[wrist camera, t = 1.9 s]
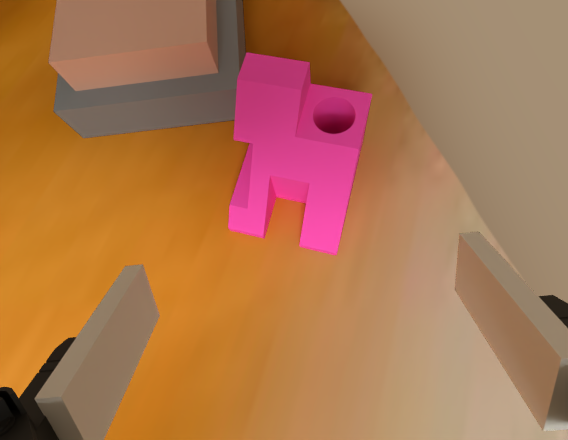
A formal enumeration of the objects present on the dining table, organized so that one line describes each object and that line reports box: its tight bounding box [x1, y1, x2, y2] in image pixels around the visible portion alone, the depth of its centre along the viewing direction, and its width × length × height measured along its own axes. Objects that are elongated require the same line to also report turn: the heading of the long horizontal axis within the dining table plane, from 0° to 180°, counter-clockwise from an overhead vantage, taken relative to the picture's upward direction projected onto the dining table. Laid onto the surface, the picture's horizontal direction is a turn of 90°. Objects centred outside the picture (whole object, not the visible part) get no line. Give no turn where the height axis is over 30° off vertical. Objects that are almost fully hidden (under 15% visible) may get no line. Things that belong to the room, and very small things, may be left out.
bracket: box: [228, 53, 372, 255], centre depth 34 cm, size 12×10×10 cm
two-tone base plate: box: [48, 0, 246, 138], centre depth 41 cm, size 18×20×9 cm
